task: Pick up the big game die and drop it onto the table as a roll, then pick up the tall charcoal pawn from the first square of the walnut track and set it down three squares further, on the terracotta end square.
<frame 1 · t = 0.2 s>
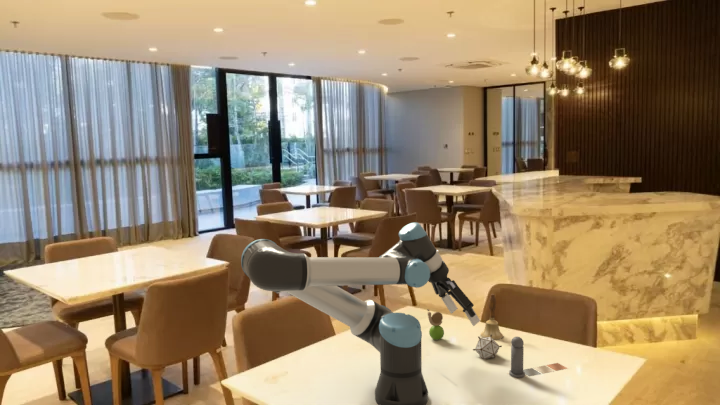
hand: (465, 316, 175), 16 cm above the table, tool tilted 35°, fingers open, 13 cm apart
snail figurine: (435, 340, 199), on the table
game die: (487, 359, 180), on the table
pawn: (517, 374, 165), point 1 cm above the table, touching track
track: (537, 374, 168), on the table
hand bell: (491, 336, 202), on the table
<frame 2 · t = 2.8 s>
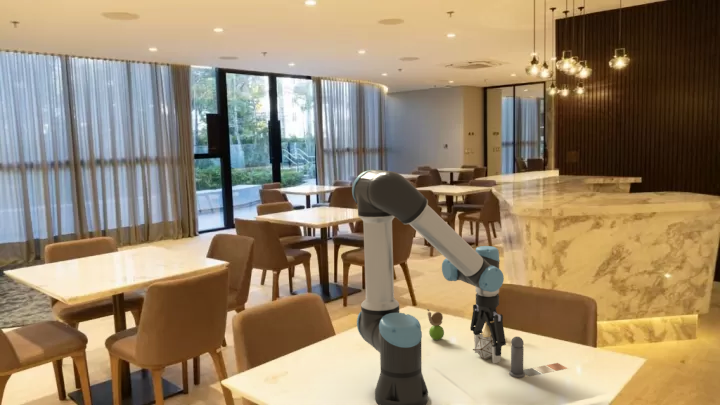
hand: (487, 358, 180), 0 cm above the table, tool pointing down, fingers closed on game die, 10 cm apart
game die: (487, 359, 180), on the table, touching gripper
everything else where it was.
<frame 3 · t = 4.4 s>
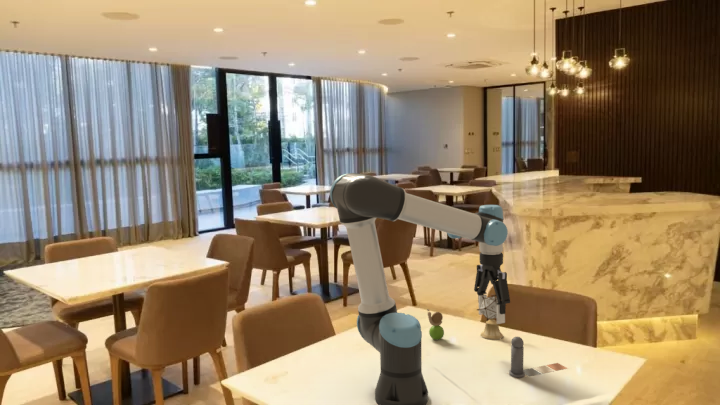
hand: (491, 318, 179), 14 cm above the table, tool pointing down, fingers closed on game die, 10 cm apart
game die: (491, 319, 179), point 13 cm above the table, touching gripper
everything else where it was.
when the fingers open (6 cm above the table, at t = 5.9 s): game die drops 6 cm, on the table.
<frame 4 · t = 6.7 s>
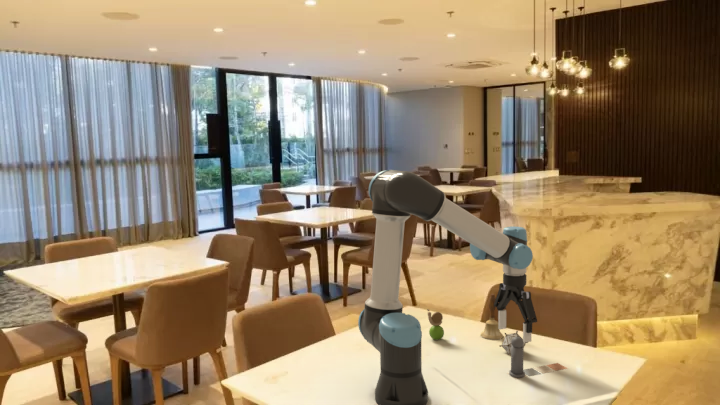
hand: (514, 335, 182), 7 cm above the table, tool pointing down, fingers open, 13 cm apart
game die: (513, 355, 183), on the table
everything else where it was.
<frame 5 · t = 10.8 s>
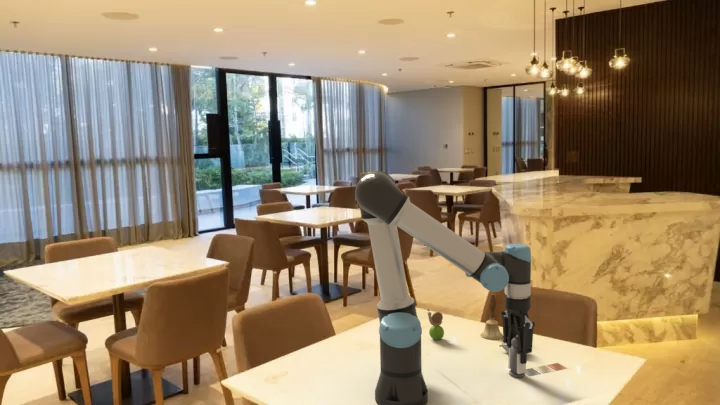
hand: (517, 370, 165), 3 cm above the table, tool pointing down, fingers closed on pawn, 3 cm apart
pawn: (516, 374, 165), point 1 cm above the table, touching gripper
everything else where it was.
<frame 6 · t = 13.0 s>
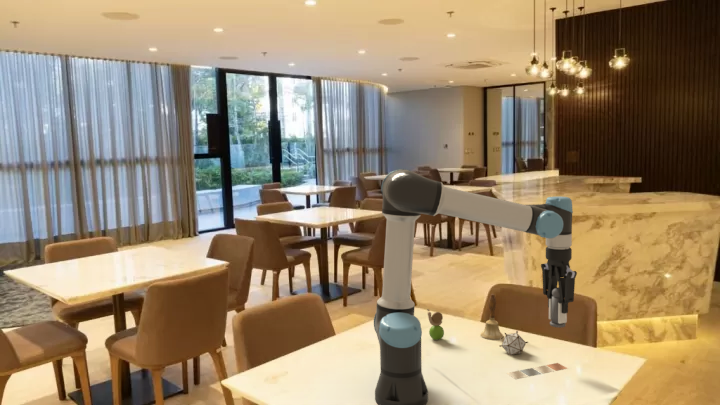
hand: (557, 320, 169), 16 cm above the table, tool pointing down, fingers closed on pawn, 3 cm apart
pawn: (557, 325, 169), point 15 cm above the table, touching gripper
everything else where it was.
when the fingers open (4 cm above the table, at t = 15.3 s): pawn drops 2 cm, resting on track.
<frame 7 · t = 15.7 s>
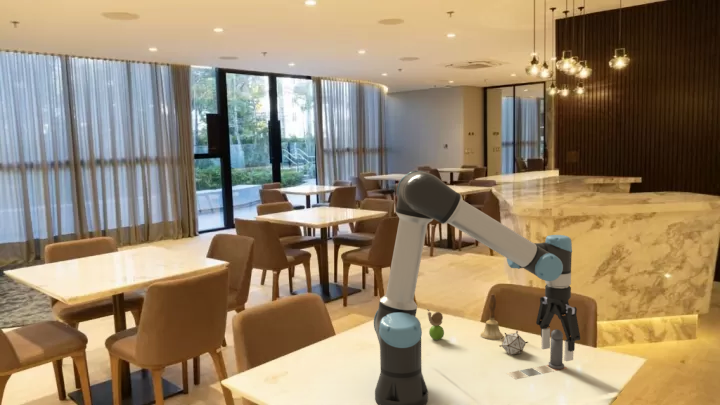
hand: (556, 354, 170), 5 cm above the table, tool pointing down, fingers open, 10 cm apart
pawn: (556, 366, 171), point 1 cm above the table, touching track
everything else where it was.
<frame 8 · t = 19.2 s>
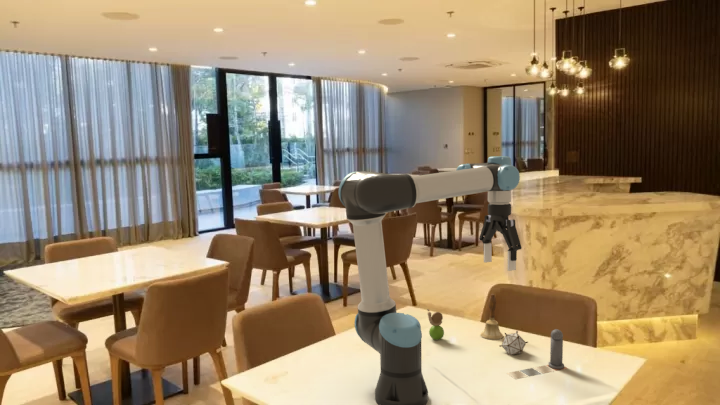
hand: (499, 266, 181), 31 cm above the table, tool pointing down, fingers open, 13 cm apart
nothing on the table moved.
at the end: pawn 0.2 cm from the target spot on the track, point 1.1 cm above the track's base; pawn tilted 0°; game die moved 10.0 cm from its start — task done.
